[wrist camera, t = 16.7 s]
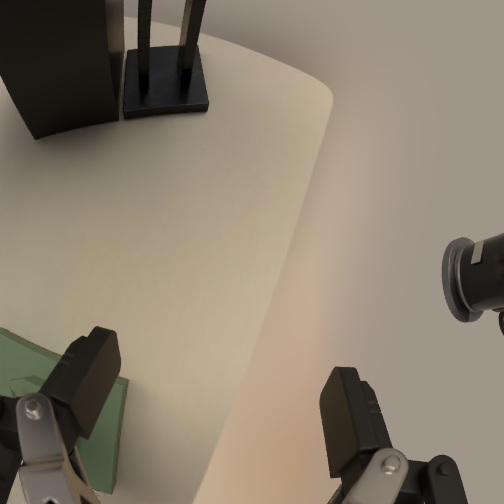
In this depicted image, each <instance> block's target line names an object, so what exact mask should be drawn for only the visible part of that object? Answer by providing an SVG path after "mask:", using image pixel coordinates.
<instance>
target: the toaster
mask: <svg viewBox="0 0 504 504" xmlns="http://www.w3.org/2000/svg"><path fill="white" fill-rule="evenodd" d="M123 1H124V0H0V76H1V78H2V80H3V82H4V84H5V86H6V88H7V90H8V92H9V94H10V96H11V98H12V100H13V102H14V104H15V106H16V108H17V109H18V111H19V113H20V115H21V117H22V119H23V120H24V122H25V124H26V126H27V127H28V129H29V131H30V133H31V134H32V136H33V138H34V139H38V138H41V137H45V136H49V135H52V134H56V133H60V132H64V131H69V130H73V129H77V128H82V127H87V126H92V125H97V124H102V123H107V122H113V121H119V105H120V90H121V77H122V67H123V58H124V50H125V45H124V4H123V3H124V2H123Z"/></svg>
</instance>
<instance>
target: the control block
mask: <svg viewBox="0 0 504 504" xmlns="http://www.w3.org/2000/svg"><path fill="white" fill-rule="evenodd" d="M61 357H62V356H61V355H59V354H56V353H54V352H52V351H49V350H47V349H45V348H43V347H40V346H38V345H36V344H34V343H32V342H30V341H28V340H26V339H23V338H21V337H19V336H17V335H16V334H14V333H12V332H10V331H8V330H6V329H4V328H0V395H2V396H7V397H12V398H17V399H20V398H21V397H22V396H24V395H25V394H28V393H33V392H36V393H37V392H38V391H39V390H40V388H41V387H42V385H43V384H44V382H45V381H46V379H47V378H48V376H49V375H50V373H51V372H52V370H53V369H54V367H55V366H56V364H57V363H58V362H59V361H60V358H61ZM128 382H129V380H128V379H125V378H122V377H119V376H118V377H117V379H116V381H115V383H114V385H113V387H112V389H111V391H110V394H109V396H108V398H107V400H106V402H105V404H104V406H103V409H102V411H101V413H100V415H99V417H98V420H97V422H96V424H95V426H94V429H93V431H92V433H91V436H90V438H89V440H87V439H84V438H82V437H78V439H77V442H76V446H77V449H78V452H79V455H80V458H81V461H82V464H83V467H84V469H85V472H86V475H87V477H88V480H89V482H90V485H91V487H92V489H95V490H98V491H101V492H105V493H108V494H112V492H113V489H114V486H115V482H116V470H117V460H118V450H119V441H120V433H121V426H122V419H123V412H124V405H125V399H126V393H127V387H128Z"/></svg>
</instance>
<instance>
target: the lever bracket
mask: <svg viewBox="0 0 504 504" xmlns="http://www.w3.org/2000/svg"><path fill="white" fill-rule="evenodd" d="M205 4H206V0H186V3H185V9H184V15H183V21H182V28H181V35H180V43H179V45H177V46H161V47H150V25H151V9H152V0H139V3H138V49H132V50H128V51H127V60H126V70H125V83H124V99H123V116H124V119H132V118H139V117H147V116H155V115H164V114H175V113H187V112H203V111H207V110H208V106H209V101H208V96H207V90H206V85H205V80H204V74H203V69H202V64H201V58H200V53H199V48H198V45H197V42H198V37H199V32H200V27H201V22H202V17H203V12H204V8H205Z"/></svg>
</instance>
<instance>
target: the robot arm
mask: <svg viewBox="0 0 504 504" xmlns="http://www.w3.org/2000/svg"><path fill="white" fill-rule="evenodd" d="M454 277H455V285H456V290H457V294H458V297H459V299H460V302H461V304H462V305H463V307H464V308H465V309H466V310H467V311H468V312H471V313H474V312H480V311H483V310H490V309H492V310H493V311H495V312H500V314H499V326H500V329H501V331H502V333H503V335H504V233H502V234H500V235H497V236H494V237H491V238H488V239H485V240H482V241H479V242H476V243H474V244H468V245H466V246H463V247H461V248H460V249H459V251H458V253H457V256H456V259H455V267H454ZM120 368H121V357H120V352H119V346H118V340H117V334H116V332H115V331H113V330H109V329H106V328H102V327H99V326H96V327H94V329H93V330H92V331H91V333H90V334H89V336H88V337H85V336H81V337H80V338H78V339H77V340H75V341H74V342H72V343H71V344H70V346H69V347H68V349H67V350H66V351H65V354H63V356H62V357H61V358H60V361H59V362H58V363H57V364H56V366H55V367H54V369H53V370H52V372H51V373H50V375H49V376H48V378H47V379H46V381H45V382H44V384H43V385H42V387H41V388H40V390H39V391H38V392H37V393H36V392H33V393H28V394H25V395H24V396H22V397H21V398H20V399H17V398H12V397H7V396H2V395H0V504H6V503H7V500H8V497H9V494H10V491H11V488H12V485H13V482H14V480H15V477H16V474H17V472H18V469H19V477H20V481H21V485H22V489H23V493H24V496H25V500H26V503H27V504H101V503H100V501H99V499H98V497H97V496H96V494H95V493H94V491H93V489H92V487H91V485H90V482H89V480H88V477H87V475H86V472H85V469H84V467H83V464H82V461H81V458H80V455H79V452H78V449H77V446H76V442H77V439H78V437H82V438H84V439H87V440H89V438H90V436H91V433H92V431H93V429H94V426H95V424H96V422H97V420H98V417H99V415H100V413H101V411H102V409H103V406H104V404H105V402H106V400H107V398H108V396H109V394H110V391H111V389H112V387H113V385H114V383H115V381H116V379H117V377H118V375H119V372H120ZM319 404H320V412H321V418H322V425H323V431H324V437H325V444H326V450H327V457H328V464H329V471H330V478H339V477H341V481H342V484H341V485H340V486H339V487H338V489H337V490H336V492H335V493H334V495H333V496H332V498H331V499H330V500H329V502H328V503H327V504H424V502H425V504H468V502H467V499H466V495H465V491H464V487H463V484H462V480H461V477H460V474H459V470H458V467H457V465H456V463H455V461H454V460H453V459H452V458H450V457H449V456H446V455H438V456H436V457H434V458H433V459H432V460H430V461H429V462H421V461H413V460H407V458H406V457H405V455H404V454H403V453H402V452H400V451H399V450H397V449H394V448H393V447H392V444H391V441H390V438H389V434H388V431H387V428H386V425H385V422H384V419H383V416H382V413H381V410H380V407H379V404H378V401H377V398H376V395H375V392H374V390H373V389H372V388H371V387H370V385H369V384H368V383H367V382H366V381H360V378H359V375H358V372H357V370H356V368H353V367H335V368H334V369H333V370H332V372H331V374H330V376H329V379H328V380H327V383H326V384H325V386H324V388H323V390H322V392H321V395H320V402H319ZM22 459H23V464H22V465H20V464H21V461H22Z"/></svg>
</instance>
